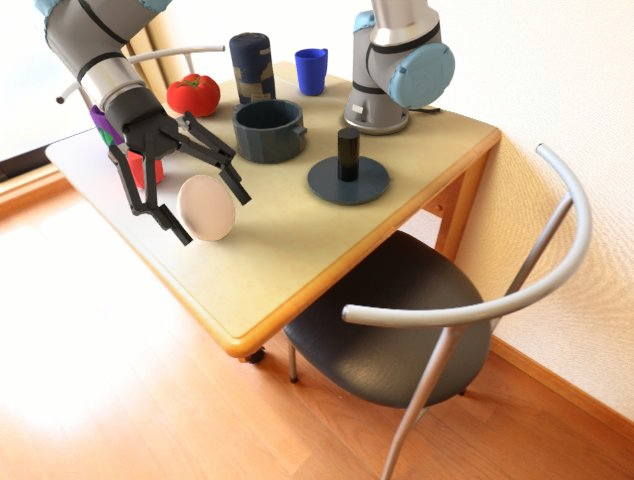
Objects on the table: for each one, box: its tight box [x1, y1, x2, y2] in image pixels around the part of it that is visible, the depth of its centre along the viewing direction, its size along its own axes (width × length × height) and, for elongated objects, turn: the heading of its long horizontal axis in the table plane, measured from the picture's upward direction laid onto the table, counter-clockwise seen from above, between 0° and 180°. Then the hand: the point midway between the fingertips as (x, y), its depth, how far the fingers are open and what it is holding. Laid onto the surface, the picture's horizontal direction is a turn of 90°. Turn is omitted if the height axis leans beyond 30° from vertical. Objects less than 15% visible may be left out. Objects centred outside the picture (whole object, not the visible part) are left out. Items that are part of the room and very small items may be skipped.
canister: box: [228, 31, 277, 105], centre depth 89 cm, size 10×10×18 cm
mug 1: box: [89, 103, 124, 149], centre depth 79 cm, size 17×11×10 cm, turn 55°
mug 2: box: [294, 47, 329, 96], centre depth 100 cm, size 8×12×10 cm
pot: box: [231, 98, 308, 165], centre depth 79 cm, size 15×20×8 cm
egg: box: [176, 174, 237, 242], centre depth 57 cm, size 9×9×11 cm
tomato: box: [166, 73, 222, 118], centre depth 92 cm, size 14×13×9 cm
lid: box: [306, 127, 390, 205], centre depth 67 cm, size 16×16×10 cm
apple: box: [127, 151, 165, 189], centre depth 71 cm, size 8×8×8 cm
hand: (220, 221), depth 57 cm, fingers open, 11 cm apart
